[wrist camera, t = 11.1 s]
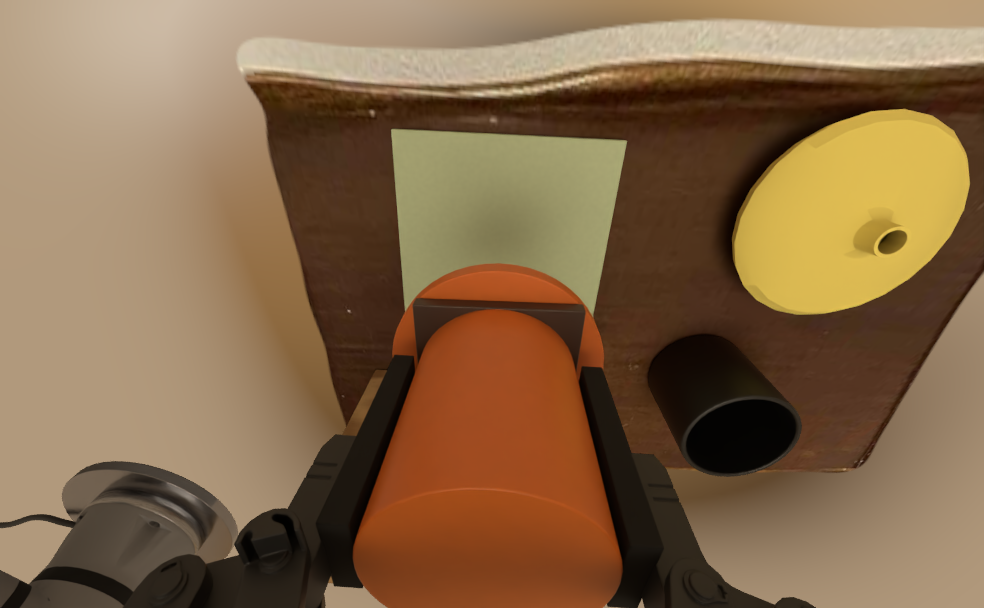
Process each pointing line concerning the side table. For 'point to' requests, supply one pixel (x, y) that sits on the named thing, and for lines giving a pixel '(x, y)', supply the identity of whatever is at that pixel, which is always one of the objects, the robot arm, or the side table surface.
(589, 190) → the mat
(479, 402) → the hat
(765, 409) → the mug
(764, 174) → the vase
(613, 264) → the side table surface
